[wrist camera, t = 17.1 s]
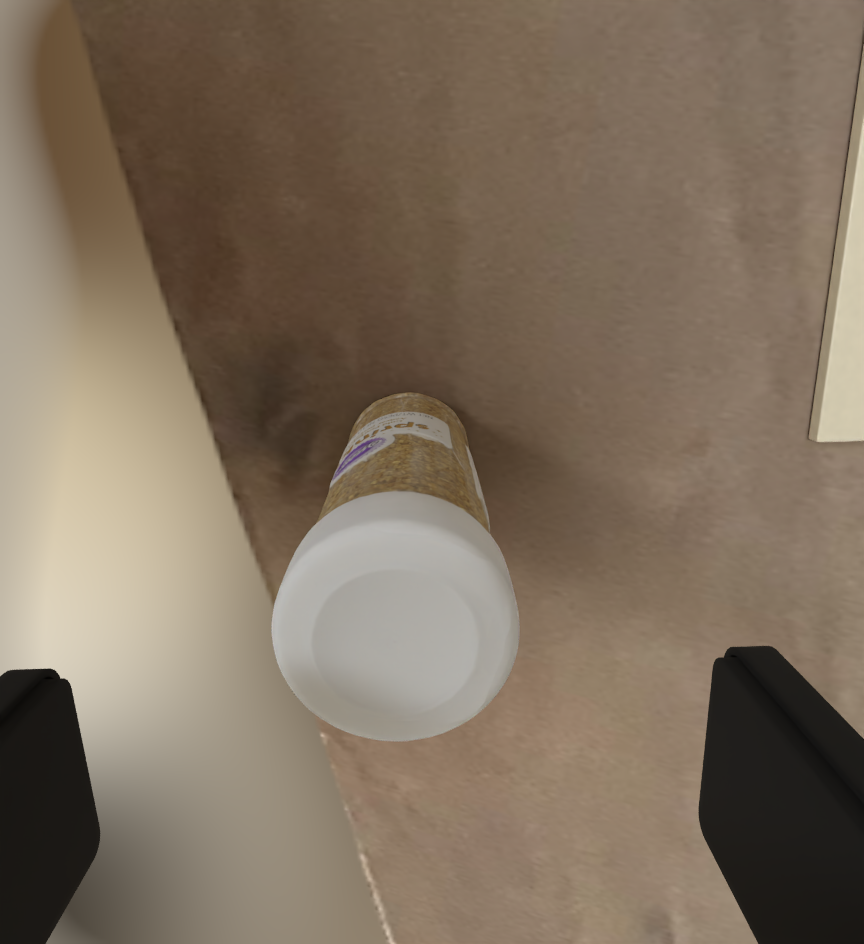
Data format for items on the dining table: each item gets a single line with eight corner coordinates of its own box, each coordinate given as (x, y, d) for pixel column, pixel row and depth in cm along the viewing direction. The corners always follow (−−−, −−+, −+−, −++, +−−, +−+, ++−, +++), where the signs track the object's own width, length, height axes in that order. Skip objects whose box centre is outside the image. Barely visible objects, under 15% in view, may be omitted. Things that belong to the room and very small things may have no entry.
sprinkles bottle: (395, 365, 24) (365, 472, 11) (494, 439, 24) (577, 621, 11) (323, 463, 25) (216, 669, 12) (420, 531, 25) (420, 793, 12)
